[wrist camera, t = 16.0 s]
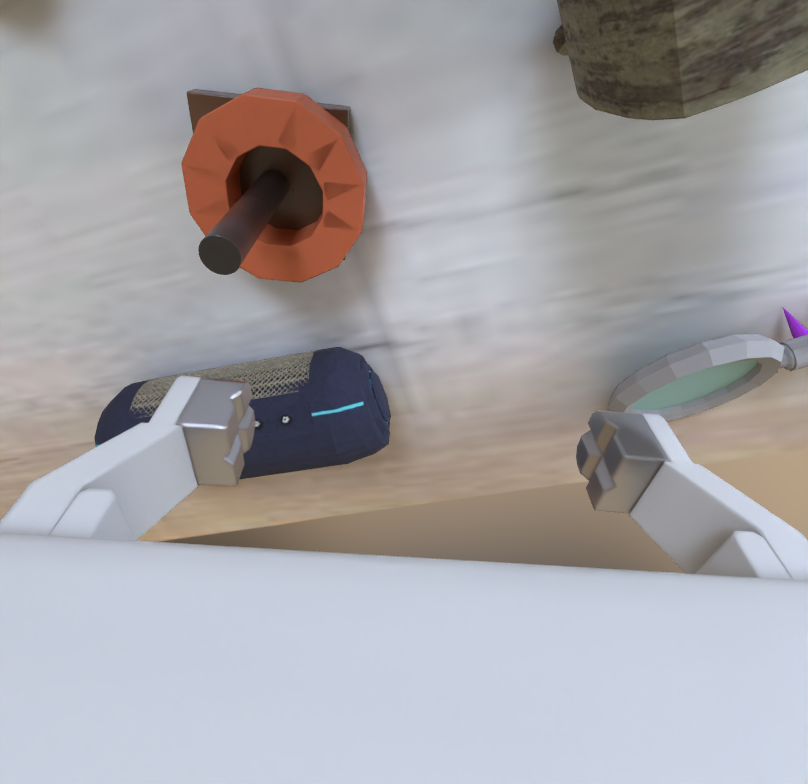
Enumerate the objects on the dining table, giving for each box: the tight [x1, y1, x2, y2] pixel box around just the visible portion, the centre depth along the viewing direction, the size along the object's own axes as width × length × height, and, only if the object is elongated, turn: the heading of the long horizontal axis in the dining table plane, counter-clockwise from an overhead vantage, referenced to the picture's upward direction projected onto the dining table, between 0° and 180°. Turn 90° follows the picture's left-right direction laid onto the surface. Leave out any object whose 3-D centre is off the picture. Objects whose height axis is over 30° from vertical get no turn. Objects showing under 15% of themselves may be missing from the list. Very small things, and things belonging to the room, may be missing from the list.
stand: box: [187, 89, 350, 275], centre depth 28 cm, size 10×10×14 cm
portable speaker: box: [95, 347, 391, 479], centre depth 41 cm, size 25×10×10 cm, turn 101°
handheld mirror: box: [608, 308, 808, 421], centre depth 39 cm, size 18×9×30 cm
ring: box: [182, 88, 367, 282], centre depth 31 cm, size 11×11×3 cm
